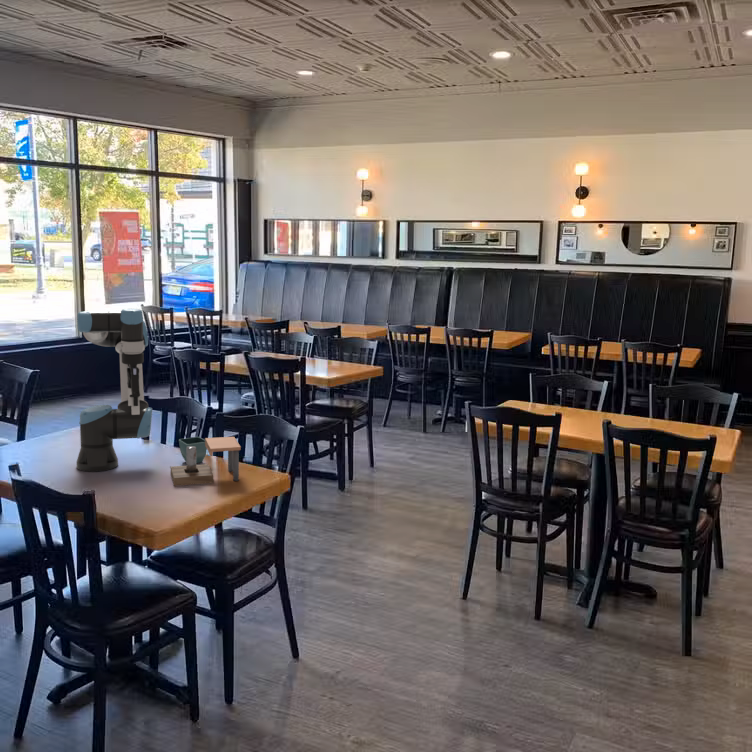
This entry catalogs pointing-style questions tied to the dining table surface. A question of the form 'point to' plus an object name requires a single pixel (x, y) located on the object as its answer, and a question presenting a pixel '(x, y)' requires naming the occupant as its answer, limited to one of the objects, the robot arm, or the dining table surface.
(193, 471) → the peg
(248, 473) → the dining table surface
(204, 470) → the socket block
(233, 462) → the awning
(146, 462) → the dining table surface
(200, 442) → the flower pot
